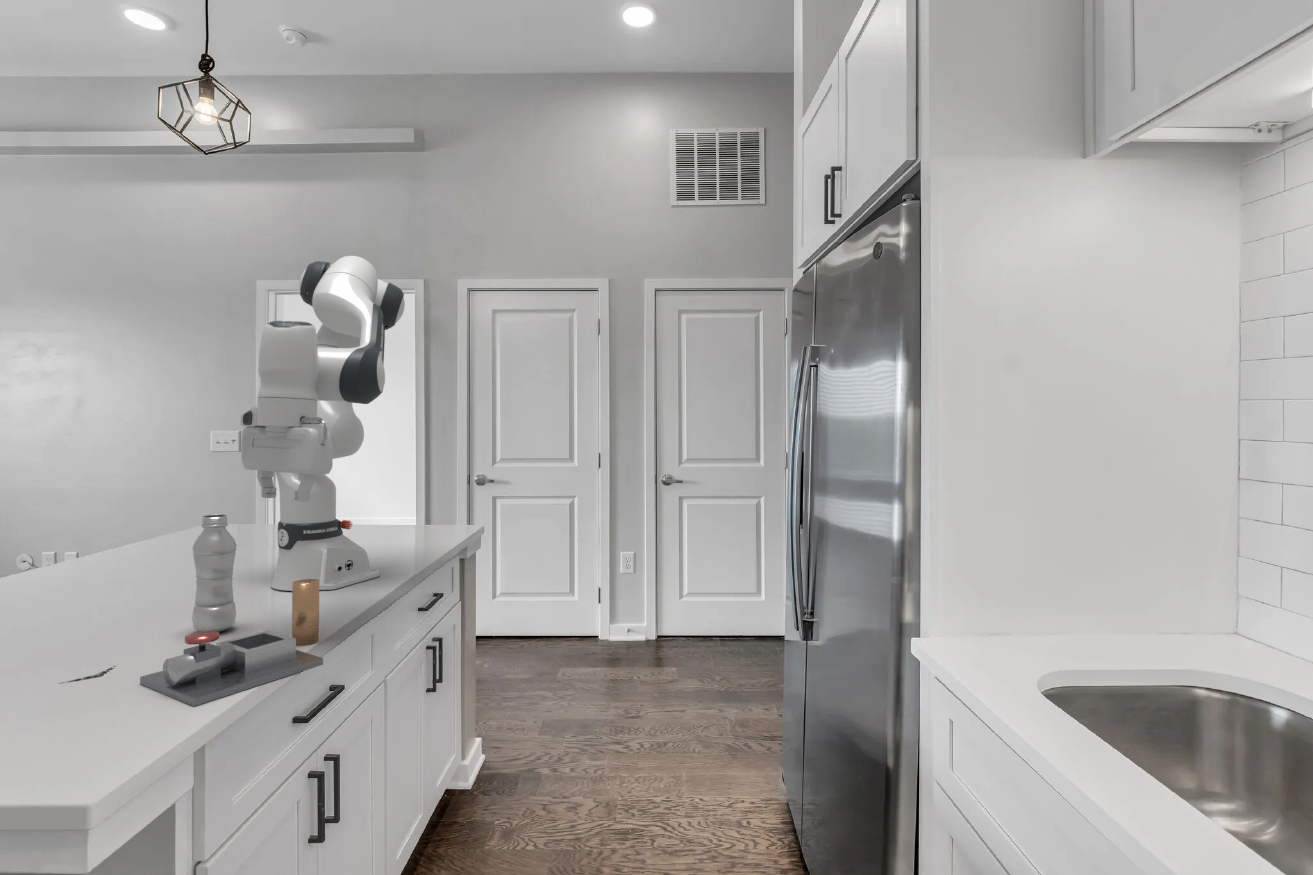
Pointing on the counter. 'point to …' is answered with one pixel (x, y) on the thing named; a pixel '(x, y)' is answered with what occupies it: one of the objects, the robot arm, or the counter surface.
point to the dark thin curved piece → (91, 676)
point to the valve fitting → (228, 666)
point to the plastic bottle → (214, 576)
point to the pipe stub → (305, 611)
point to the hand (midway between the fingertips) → (285, 499)
